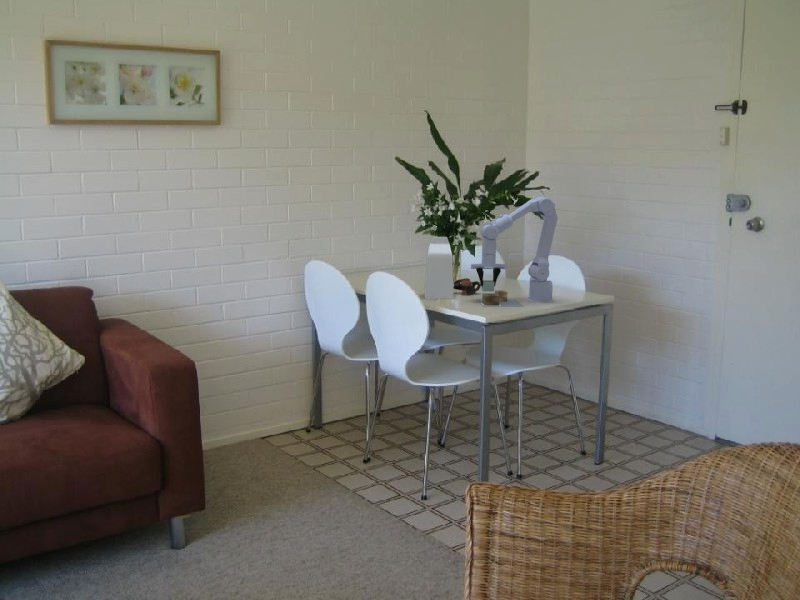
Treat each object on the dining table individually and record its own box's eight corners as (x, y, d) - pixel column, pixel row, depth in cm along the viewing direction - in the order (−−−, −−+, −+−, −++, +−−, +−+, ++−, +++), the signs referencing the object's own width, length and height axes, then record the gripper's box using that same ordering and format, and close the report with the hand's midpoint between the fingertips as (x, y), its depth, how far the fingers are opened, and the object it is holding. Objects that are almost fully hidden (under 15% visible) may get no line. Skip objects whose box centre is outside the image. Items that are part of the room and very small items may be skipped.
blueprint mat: (515, 300, 380) (515, 299, 380) (524, 307, 362) (524, 306, 362) (476, 300, 379) (476, 299, 379) (483, 307, 361) (483, 306, 361)
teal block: (494, 291, 372) (494, 281, 371) (483, 291, 371) (483, 281, 370) (492, 289, 376) (492, 280, 375) (481, 289, 376) (481, 280, 375)
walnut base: (496, 302, 370) (496, 293, 370) (499, 305, 364) (499, 295, 364) (482, 302, 370) (482, 293, 369) (484, 305, 364) (484, 295, 363)
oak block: (505, 299, 379) (505, 290, 378) (507, 301, 374) (507, 292, 374) (494, 299, 379) (494, 290, 378) (496, 301, 374) (496, 292, 373)
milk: (425, 299, 380) (426, 238, 375) (424, 294, 391) (425, 235, 387) (453, 299, 380) (454, 238, 375) (452, 295, 391) (453, 235, 386)
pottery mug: (456, 297, 387) (451, 280, 390) (456, 303, 396) (452, 286, 399) (483, 291, 387) (478, 273, 390) (483, 297, 396) (478, 280, 399)
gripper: (504, 252, 376) (503, 284, 378) (470, 252, 374) (469, 284, 377) (507, 254, 369) (506, 287, 371) (472, 254, 367) (471, 287, 370)
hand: (487, 286), depth 373 cm, fingers closed on teal block, 4 cm apart
